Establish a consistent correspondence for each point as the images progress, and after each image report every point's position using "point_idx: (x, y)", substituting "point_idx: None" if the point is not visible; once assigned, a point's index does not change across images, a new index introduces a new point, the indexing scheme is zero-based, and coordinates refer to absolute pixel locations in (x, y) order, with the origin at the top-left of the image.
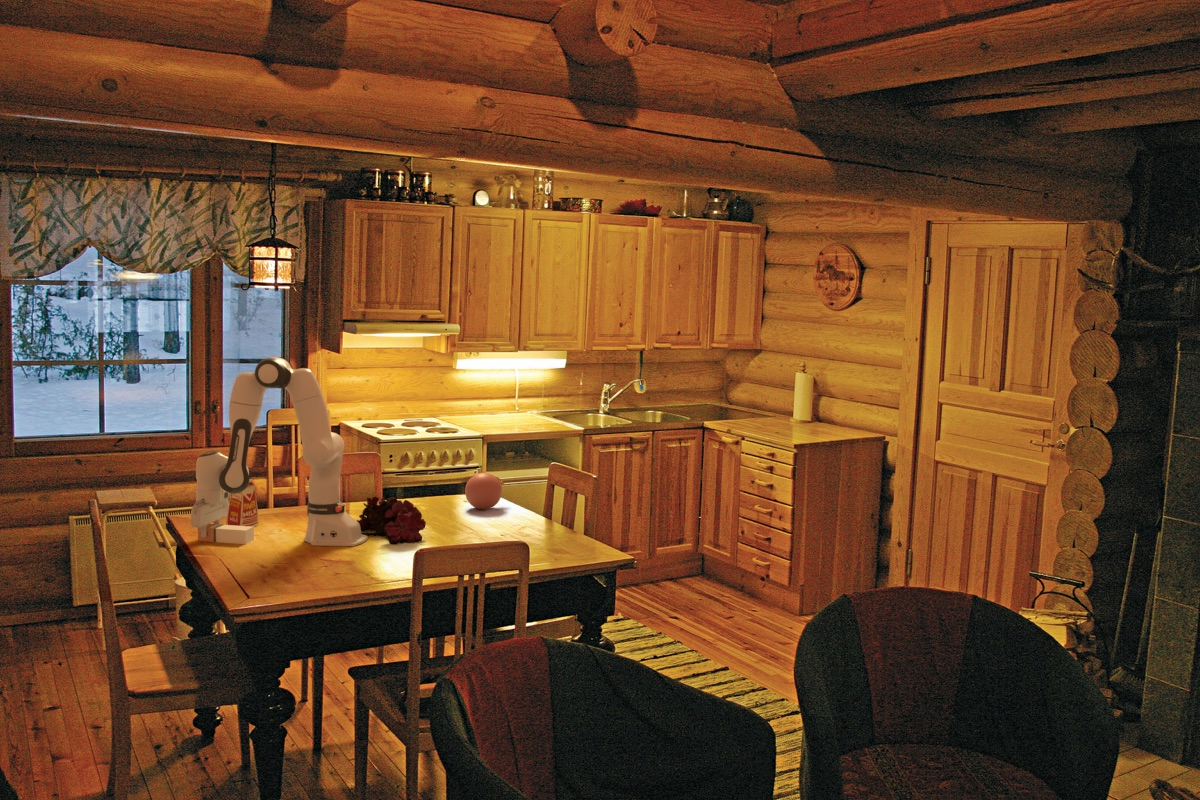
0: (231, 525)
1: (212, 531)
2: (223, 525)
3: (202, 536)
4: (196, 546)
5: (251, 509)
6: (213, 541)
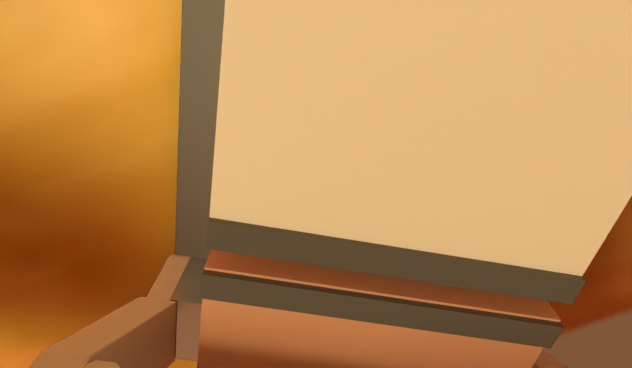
0: (246, 8)
1: None
2: (277, 212)
3: None
4: None
5: None
6: None
